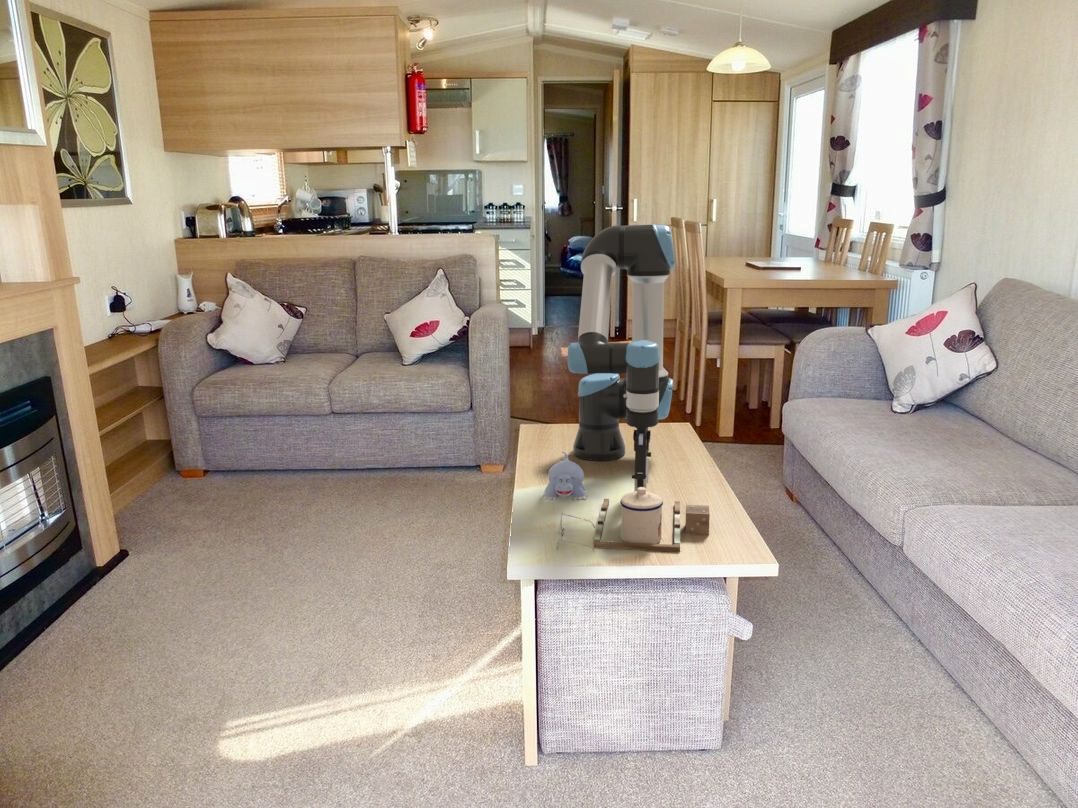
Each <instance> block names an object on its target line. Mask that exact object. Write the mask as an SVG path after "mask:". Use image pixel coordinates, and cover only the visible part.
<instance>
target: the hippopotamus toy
mask: <svg viewBox="0 0 1078 808" xmlns="http://www.w3.org/2000/svg"><path fill="white" fill-rule="evenodd" d="M561 453H562V454H564V457H563V460H561V461H558V462H556V463H554V465H552V466H551V468H550V469H549V470H548V473H547V474H548V475H547V477H548V478H547V479H548V484H547V486H546V487H545V489H544V495H543V501H544V500H545V501H553V500H555V501H556V500H557V499H558V498H557V497H558V496H561V497H568V496H570V495H571V496H572V497H573V500H575V501H576V500H577V501H582V500H583V501H586V500H587V499H588V498H587V497H588V495H587V492H588V491H587V488H586V487H585V485H584V484H583V482H584V477H585V476H584V475H585V473H584V470H583V469H582V467H581V466H580V465H579V464H578V463H576V462H574V461H572V460H570V458H569V455H568V454H567V453H566V452H564V451H563V452H561Z"/></svg>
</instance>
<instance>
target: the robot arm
mask: <svg viewBox="0 0 1078 808" xmlns="http://www.w3.org/2000/svg"><path fill="white" fill-rule="evenodd" d="M672 234H673V233H672V230H671V228H670V227H669V226H668V225H664V224H635V225H633V224H632V225H611V226H608V227H606V228H604V229H602V230H601V231H599V232H598V233H597V234H596V235H594V237H593V238H592V239H591V240H590V241H589V242H588V243H587V246H585V249H584V251H583V253H582V256H581V260H580V270H581V273H582V274H583V281H582V288H581V289H582V291H581V299H580V300H581V301H580V311H579V312H580V313H579V324H578V332H577V333H578V334H577V341H576V342H570V343H569V344H568V347H567V356H566V358H567V368H568V370H569V372H570V373H574V374H583V375H584V374H585V375H586V376H584V377H582V378H581V379H580V380H579V382H578V392H577V396H578V428H577V432H576V436H575V439H574V442H573V445H572V447H573V449H572V451H573V455H574V456H575V457H577V458H579V459H582V460H585V461H586V460H587V461H599V462H601V461H611V460H616V459H619V458H622V457H623V456H625V454H626V444H625V442H624V438H623V435H622V432H621V428H620V420H625V423H626V425H627V426H628V427H631V428H636V429H634V430H633V432H632V433H633V435H632V438H633V451H634V452H635V453H634V474H631V479H633V480H634V491H633V492H635V491H637V488H639V487H644V488H646V489H647V484H649V462H650V461H649V458H651V457H652V452H650V442H651V430H650V429H649V428H653V427H656V426H657V425H658V424H659V420H665V419H666V418H667V417H668V416H669V413H670V411H671V403H672V397H673V389H674V388H673V387H674V379H672V378H670V377H669V372H668V371H667V370H666V368H665V367H664V321H665V320H664V316H665V315H664V313H665V312H664V311H665V309H664V308H665V303H664V302H665V300H664V299H665V281H666V280H667V279H668V278H669V277H670V276H671V273H670V272H671V270H673V269H675V268H676V261H675V252H674V244H673V235H672ZM617 270H626V277H628V278H629V279H630V281H631V283H632V303H631V304H632V306H631V307H632V316H631V317H632V319H631V320H632V322H631V323H632V327H631V328H632V329H631V330H632V332H631V333H632V334H631V336H632V338H631V341H632V342H609V334H610V333H609V331H610V315H611V314H610V313H611V299H612V286H613V285H612V284H613V283H612V282H613V277H614V276H615V274H616V273H617ZM621 374H623V375H625V378H620V377H621V376H620V375H621Z"/></svg>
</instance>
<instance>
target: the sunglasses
mask: <svg viewBox="0 0 1078 808" xmlns="http://www.w3.org/2000/svg"><path fill="white" fill-rule="evenodd" d="M563 515H564V516H568V517H572V518H575V519H579V520H580V519H581V520H583V521H586V522H589V523H591V524H592V526H593V528H594V529H595V528H596V527H595V524H594V523H593V522H592V521H591V520H589V519H585V518H580V517H577V516H573V515H569V514H566V513H564V512H563V511H561V513H560V522H559V528H558V534H557V535H558V538H557V543H556V544H557V545H556V550H558V548H559V545H560V541H565V542H567V543H574V544H578V545H583V546H586V547H589V548H591V550H592V551H593V553H596V551H595V550H594V548H593V546H591V545H588V544H584V543H580V542H574V541H571V540H569V539H564V538H563V537H564V535H565V527H562V526H563Z"/></svg>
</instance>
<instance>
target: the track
mask: <svg viewBox="0 0 1078 808" xmlns="http://www.w3.org/2000/svg"><path fill="white" fill-rule="evenodd" d="M609 504H610V498H603V502H602V506H601V507H600V512H599V513H600V514H599V517H598V520H597V526H596V529H595V534H594V536H593V537H594V538H593V543H592V548H593V549H609V550H610V549H612V550H613V549H615V550H630V551H631V550H637V551H638V550H639V551H652V552H653V551H655V552H656V551H657V552H659V551H660V552H674V553H675V552H677V553H680V552H681V501H680V500H679V501H674V532H673V533H674V536H673V537H674V538H673V539H674V540H673V541H674V543H673V544H667V543H665V544H664V543H657V544H648V543H626V542H624V541H623V542H622V541H619V542H618V541H602V540H601V539H602V536H603V532H604V526H605V522H606V517H607V514H608V508H609Z"/></svg>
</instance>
